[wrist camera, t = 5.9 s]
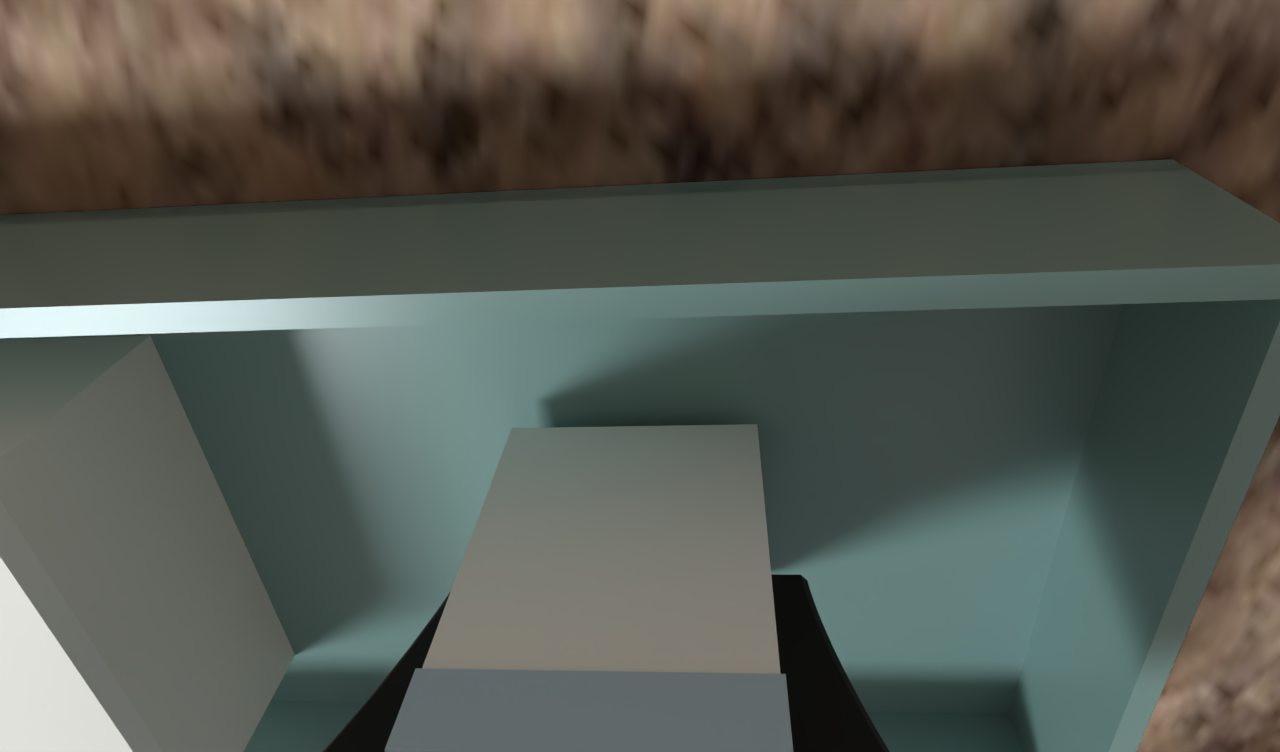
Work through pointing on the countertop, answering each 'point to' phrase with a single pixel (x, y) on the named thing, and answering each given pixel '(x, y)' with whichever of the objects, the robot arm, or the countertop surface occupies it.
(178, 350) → the tray
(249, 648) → the white box
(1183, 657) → the countertop surface
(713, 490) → the milk carton
